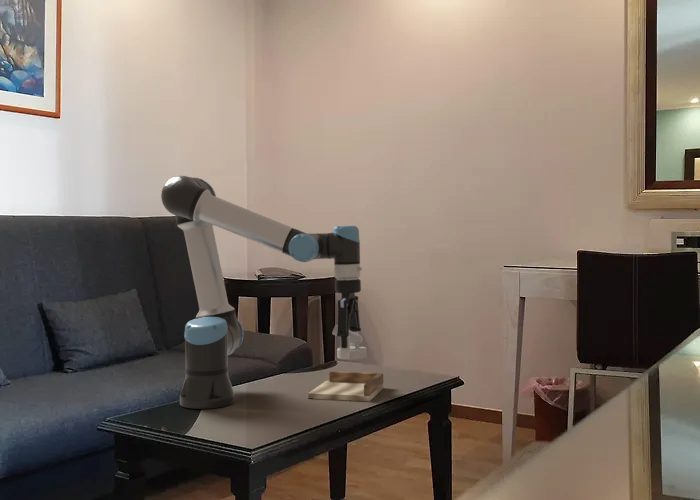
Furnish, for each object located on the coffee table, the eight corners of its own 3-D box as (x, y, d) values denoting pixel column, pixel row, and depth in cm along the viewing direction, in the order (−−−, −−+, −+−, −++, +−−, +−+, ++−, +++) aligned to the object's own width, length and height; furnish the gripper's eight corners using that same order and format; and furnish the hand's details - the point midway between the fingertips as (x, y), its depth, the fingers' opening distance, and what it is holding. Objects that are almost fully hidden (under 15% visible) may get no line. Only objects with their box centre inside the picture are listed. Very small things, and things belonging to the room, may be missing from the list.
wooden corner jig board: (308, 398, 215) (307, 382, 215) (326, 385, 232) (326, 370, 232) (369, 401, 210) (369, 385, 210) (383, 387, 228) (383, 373, 227)
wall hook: (335, 322, 225) (368, 322, 223) (336, 354, 225) (369, 354, 223) (328, 326, 216) (362, 326, 214) (329, 359, 216) (363, 359, 214)
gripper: (350, 281, 208) (352, 363, 208) (368, 276, 228) (370, 350, 229) (324, 281, 210) (326, 362, 210) (345, 276, 230) (347, 350, 231)
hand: (349, 356), depth 220 cm, fingers closed on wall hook, 9 cm apart
